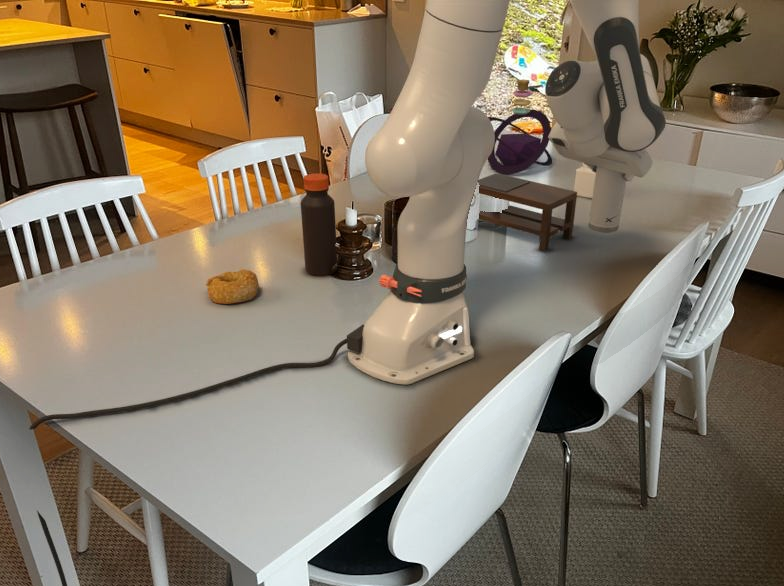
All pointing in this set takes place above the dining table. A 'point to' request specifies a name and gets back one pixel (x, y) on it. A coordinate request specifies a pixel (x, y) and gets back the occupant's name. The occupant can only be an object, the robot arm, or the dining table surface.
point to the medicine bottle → (584, 181)
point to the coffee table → (533, 197)
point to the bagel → (233, 287)
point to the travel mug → (607, 200)
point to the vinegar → (318, 226)
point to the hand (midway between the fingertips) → (613, 174)
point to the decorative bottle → (520, 138)
